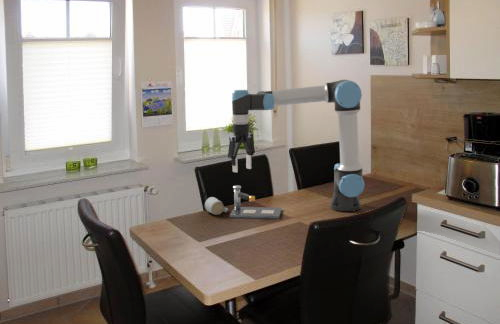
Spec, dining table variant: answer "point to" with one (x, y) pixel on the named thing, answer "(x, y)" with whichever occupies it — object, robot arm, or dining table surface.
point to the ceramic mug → (215, 206)
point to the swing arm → (247, 197)
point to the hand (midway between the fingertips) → (242, 170)
